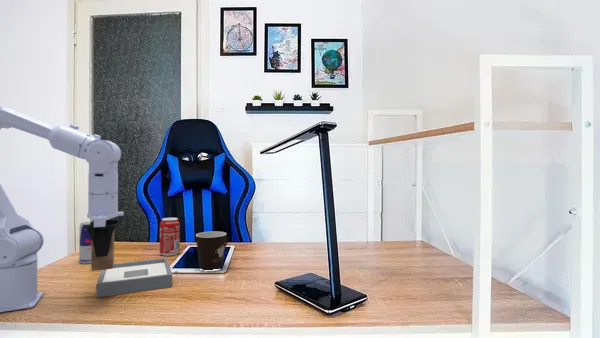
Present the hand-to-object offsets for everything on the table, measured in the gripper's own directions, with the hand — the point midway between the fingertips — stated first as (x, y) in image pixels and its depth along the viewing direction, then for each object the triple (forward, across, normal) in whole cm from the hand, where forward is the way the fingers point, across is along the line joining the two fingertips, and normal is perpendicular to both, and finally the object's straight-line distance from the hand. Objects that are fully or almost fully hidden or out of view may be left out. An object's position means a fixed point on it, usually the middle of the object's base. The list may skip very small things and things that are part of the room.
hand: (103, 253), depth 73 cm
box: (+10, +9, -7) cm, 15 cm away
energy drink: (+10, +34, +7) cm, 36 cm away
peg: (+3, 0, 0) cm, 3 cm away
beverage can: (+10, +33, -16) cm, 38 cm away
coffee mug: (+10, +12, -28) cm, 32 cm away
